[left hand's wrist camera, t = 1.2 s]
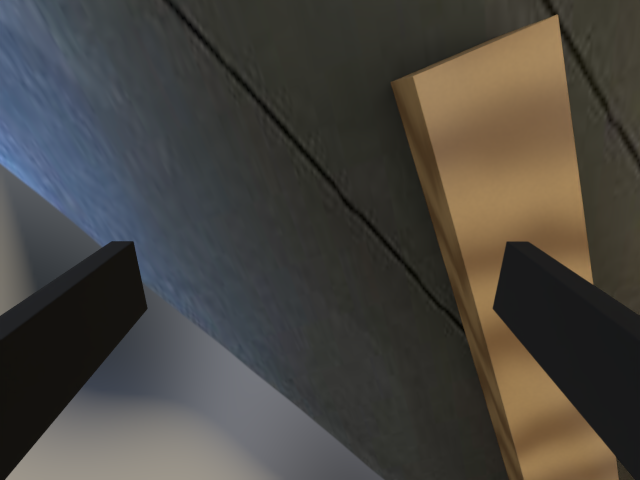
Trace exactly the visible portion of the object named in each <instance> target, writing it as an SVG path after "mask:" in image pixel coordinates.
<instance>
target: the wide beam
mask: <svg viewBox="0 0 640 480" xmlns="http://www.w3.org/2000/svg"><path fill="white" fill-rule="evenodd" d="M391 86H392V89H393V92H394V96H395V99H396V102H397V106H398V109H399V112H400V116H401V119H402V122H403V126H404V129H405V132H406V136H407V139H408V143H409V146H410V149H411V153H412V156H413V159H414V163H415V166H416V169H417V173H418V176H419V179H420V183H421V186H422V189H423V193H424V196H425V199H426V203H427V206H428V210H429V213H430V216H431V220H432V223H433V226H434V230H435V233H436V236H437V240H438V243H439V246H440V250H441V253H442V256H443V260H444V263H445V266H446V270H447V273H448V277H449V280H450V283H451V287H452V290H453V293H454V297H455V300H456V303H457V307H458V310H459V313H460V317H461V320H462V323H463V327H464V330H465V333H466V337H467V340H468V344H469V347H470V350H471V354H472V357H473V360H474V364H475V367H476V370H477V374H478V377H479V380H480V384H481V387H482V390H483V394H484V397H485V400H486V404H487V407H488V411H489V414H490V417H491V421H492V424H493V427H494V431H495V434H496V437H497V441H498V444H499V447H500V451H501V454H502V457H503V461H504V464H505V467H506V471H507V474H508V478H509V480H619V478H618V470H617V462H616V456H615V455H614V454H613V453H612V451H611V450H610V449H609V448H608V447H607V445H606V444H605V443H604V442H603V441H602V439H601V438H600V437H599V436H598V435H597V433H596V432H595V431H594V430H593V429H592V427H591V426H590V425H589V424H588V423H587V421H586V420H585V419H584V418H583V417H582V415H581V414H580V413H579V412H578V411H577V409H576V408H575V407H574V406H573V405H572V403H571V402H570V401H569V400H568V399H567V397H566V396H565V395H564V394H563V393H562V391H561V390H560V389H559V388H558V387H557V385H556V384H555V383H554V382H553V381H552V379H551V378H550V377H549V376H548V375H547V373H546V372H545V371H544V370H543V369H542V367H541V366H540V365H539V364H538V363H537V361H536V360H535V359H534V358H533V357H532V355H531V354H530V353H529V352H528V351H527V350H526V348H525V347H524V346H523V345H522V344H521V342H520V341H519V340H518V339H517V338H516V336H515V335H514V334H513V333H512V332H511V330H510V329H509V328H508V327H507V326H506V324H505V323H504V322H503V321H502V320H501V318H500V317H499V316H498V315H497V314H496V312H495V311H494V310H493V304H494V299H495V294H496V290H497V285H498V280H499V275H500V270H501V266H502V261H503V256H504V251H505V247H506V242H507V241H529V242H530V243H531V244H533V245H534V246H536V247H537V248H539V249H540V250H542V251H543V252H545V253H546V254H548V255H549V256H551V257H552V258H554V259H555V260H557V261H558V262H560V263H561V264H563V265H564V266H566V267H567V268H569V269H570V270H572V271H573V272H575V273H576V274H578V275H579V276H581V277H582V278H584V279H585V280H587V281H588V282H590V283H591V284H593V279H592V272H591V264H590V256H589V249H588V241H587V233H586V226H585V218H584V210H583V203H582V195H581V188H580V180H579V172H578V165H577V157H576V149H575V142H574V134H573V127H572V119H571V111H570V104H569V96H568V88H567V81H566V73H565V65H564V58H563V50H562V43H561V35H560V27H559V20H558V15H555V16H552V17H549V18H547V19H544V20H541V21H539V22H536V23H533V24H531V25H528V26H525V27H522V28H520V29H517V30H514V31H512V32H509V33H506V34H503V35H501V36H498V37H496V38H493V39H491V40H489V41H486V42H484V43H482V44H479V45H477V46H475V47H472V48H470V49H467V50H465V51H463V52H460V53H458V54H456V55H453V56H451V57H449V58H446V59H444V60H442V61H439V62H437V63H435V64H432V65H430V66H428V67H425V68H423V69H421V70H418V71H416V72H413V73H411V74H409V75H406V76H404V77H402V78H399V79H397V80H395V81H392V82H391Z"/></svg>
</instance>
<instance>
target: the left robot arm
mask: <svg viewBox="0 0 640 480" xmlns="http://www.w3.org/2000/svg"><path fill="white" fill-rule="evenodd" d="M146 310H147V304H146V299H145V294H144V290H143V285H142V280H141V275H140V270H139V266H138V261H137V256H136V251H135V247H134V242H133V241H111V242H110V243H109V244H107V245H106V246H104V247H103V248H101V249H100V250H98V251H97V252H95V253H94V254H92V255H91V256H89V257H88V258H86V259H85V260H83V261H82V262H80V263H79V264H77V265H76V266H74V267H73V268H71V269H70V270H68V271H67V272H65V273H64V274H62V275H61V276H59V277H58V278H56V279H55V280H53V281H52V282H50V283H49V284H47V285H46V286H44V287H43V288H41V289H40V290H38V291H37V292H35V293H34V294H32V295H31V296H29V297H28V298H26V299H25V300H23V301H22V302H20V303H19V304H17V305H16V306H14V307H13V308H11V309H10V310H8V311H7V312H5V313H4V314H2V315H1V316H0V480H5V479H6V478H7V477H8V475H9V474H10V473H11V472H12V471H13V469H14V468H15V467H16V466H17V464H18V463H19V462H20V461H21V460H22V459H23V457H24V456H25V455H26V454H27V453H28V451H29V450H30V449H31V448H32V447H33V445H34V444H35V443H36V442H37V441H38V439H39V438H40V437H41V436H42V435H43V433H44V432H45V431H46V430H47V429H48V427H49V426H50V425H51V424H52V423H53V421H54V420H55V419H56V418H57V417H58V415H59V414H60V413H61V412H62V411H63V409H64V408H65V407H66V406H67V405H68V403H69V402H70V401H71V400H72V399H73V397H74V396H75V395H76V394H77V393H78V391H79V390H80V389H81V388H82V387H83V385H84V384H85V383H86V382H87V381H88V379H89V378H90V377H91V376H92V375H93V373H94V372H95V371H96V370H97V369H98V367H99V366H100V365H101V364H102V363H103V361H104V360H105V359H106V358H107V357H108V355H109V354H110V353H111V352H112V351H113V349H114V348H115V347H116V346H117V345H118V344H119V342H120V341H121V340H122V339H123V338H124V336H125V335H126V334H127V333H128V332H129V330H130V329H131V328H132V327H133V325H134V324H135V323H136V322H137V321H138V320H139V318H140V317H141V316H142V315H143V313H144V312H145V311H146ZM493 310H494V311H495V312H496V314H497V315H498V316H499V317H500V318H501V320H502V321H503V322H504V323H505V324H506V326H507V327H508V328H509V329H510V330H511V332H512V333H513V334H514V335H515V336H516V338H517V339H518V340H519V341H520V342H521V344H522V345H523V346H524V347H525V348H526V350H527V351H528V352H529V353H530V354H531V355H532V357H533V358H534V359H535V360H536V361H537V363H538V364H539V365H540V366H541V367H542V369H543V370H544V371H545V372H546V373H547V375H548V376H549V377H550V378H551V379H552V381H553V382H554V383H555V384H556V385H557V387H558V388H559V389H560V390H561V391H562V393H563V394H564V395H565V396H566V397H567V399H568V400H569V401H570V402H571V403H572V405H573V406H574V407H575V408H576V409H577V411H578V412H579V413H580V414H581V415H582V417H583V418H584V419H585V420H586V421H587V423H588V424H589V425H590V426H591V427H592V429H593V430H594V431H595V432H596V433H597V435H598V436H599V437H600V438H601V439H602V441H603V442H604V443H605V444H606V445H607V447H608V448H609V449H610V450H611V451H612V453H613V454H614V455H615V456H616V457H617V459H618V460H619V461H620V462H621V463H622V465H623V466H624V467H625V468H626V469H627V471H628V472H629V473H630V474H631V475H632V477H633V478H634V479H635V480H640V315H638V314H636V313H635V312H633V311H632V310H630V309H629V308H627V307H626V306H624V305H623V304H621V303H620V302H618V301H617V300H615V299H614V298H612V297H611V296H609V295H608V294H606V293H605V292H603V291H602V290H600V289H599V288H597V287H596V286H594V285H593V284H591V283H590V282H588V281H587V280H585V279H584V278H582V277H581V276H579V275H578V274H576V273H575V272H573V271H572V270H570V269H569V268H567V267H566V266H564V265H563V264H561V263H560V262H558V261H557V260H555V259H554V258H552V257H551V256H549V255H548V254H546V253H545V252H543V251H542V250H540V249H539V248H537V247H536V246H534V245H533V244H531V243H530V242H529V241H507V242H506V247H505V251H504V256H503V261H502V266H501V270H500V275H499V280H498V285H497V290H496V294H495V299H494V304H493Z"/></svg>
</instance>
